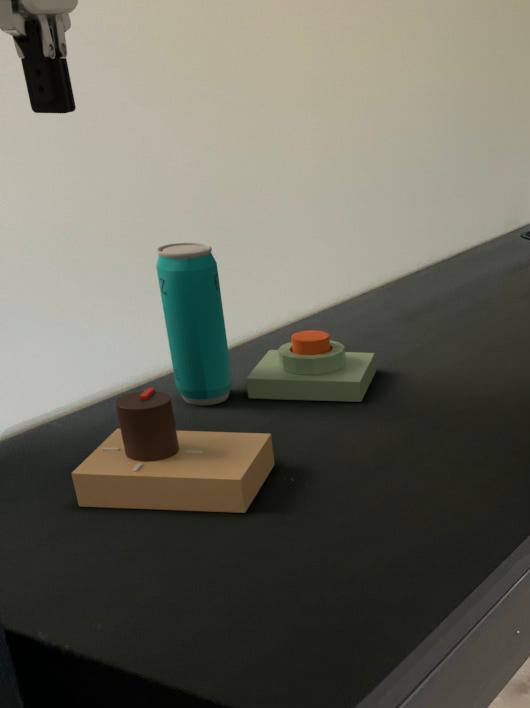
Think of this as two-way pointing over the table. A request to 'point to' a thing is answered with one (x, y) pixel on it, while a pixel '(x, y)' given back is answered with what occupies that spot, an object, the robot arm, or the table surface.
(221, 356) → the beverage can
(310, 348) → the switch button
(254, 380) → the switch base
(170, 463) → the dial panel
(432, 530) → the table surface
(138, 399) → the dial
